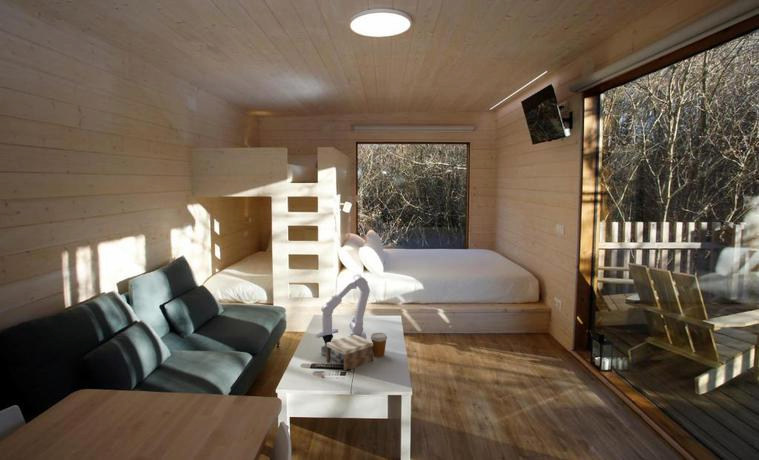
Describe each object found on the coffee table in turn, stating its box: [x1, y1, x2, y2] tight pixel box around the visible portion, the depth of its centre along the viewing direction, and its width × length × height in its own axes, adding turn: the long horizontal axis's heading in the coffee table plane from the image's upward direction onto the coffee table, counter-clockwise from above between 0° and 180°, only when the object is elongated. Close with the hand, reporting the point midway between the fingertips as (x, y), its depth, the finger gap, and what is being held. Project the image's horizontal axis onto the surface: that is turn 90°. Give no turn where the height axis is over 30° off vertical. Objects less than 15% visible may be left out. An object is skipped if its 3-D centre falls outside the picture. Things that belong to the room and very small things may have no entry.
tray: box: [320, 344, 344, 364], centre depth 258 cm, size 11×18×6 cm, turn 42°
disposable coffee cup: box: [370, 332, 388, 358], centre depth 259 cm, size 10×10×12 cm
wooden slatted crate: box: [326, 334, 374, 371], centre depth 250 cm, size 20×16×11 cm
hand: (327, 346), depth 266 cm, fingers closed, pressing on tray
